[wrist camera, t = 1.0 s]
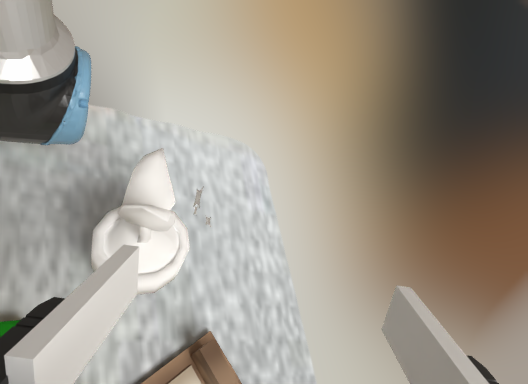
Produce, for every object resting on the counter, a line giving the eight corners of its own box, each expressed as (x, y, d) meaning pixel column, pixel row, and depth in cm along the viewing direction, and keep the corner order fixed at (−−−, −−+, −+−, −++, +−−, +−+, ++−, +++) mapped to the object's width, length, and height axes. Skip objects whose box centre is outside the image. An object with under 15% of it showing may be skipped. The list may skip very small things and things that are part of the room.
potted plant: (168, 313, 41) (224, 233, 23) (77, 304, 37) (60, 199, 19) (182, 236, 49) (232, 132, 31) (108, 221, 45) (117, 92, 27)
